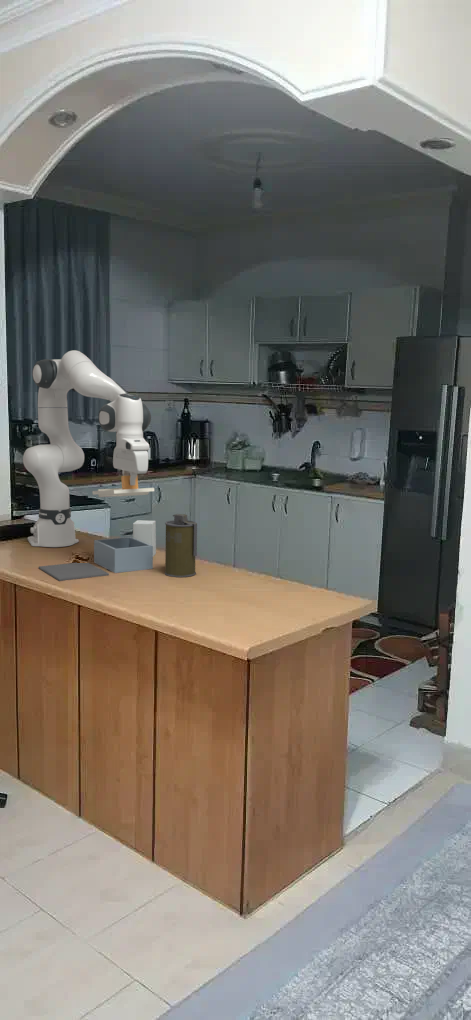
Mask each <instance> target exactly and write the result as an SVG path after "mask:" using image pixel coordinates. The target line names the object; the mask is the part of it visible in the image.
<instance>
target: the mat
mask: <svg viewBox="0 0 471 1020" xmlns="http://www.w3.org/2000/svg"><path fill="white" fill-rule="evenodd" d="M38 569H39V570H41V571H42V572H44V573H46V574H47V575H49V576H51V578H54V580H57V581H58V582H62V581H71V580H79V579H88V578H96V577H97V578H98V577H104V576H110V573H109V572H106V570H103V569H101V568H99V567H98V566H95V565H94V564H92V563H90V562H88V563H77V562H69V563H58V564H50V565H41V566H38Z"/></svg>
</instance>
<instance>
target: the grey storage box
mask: <svg viewBox="0 0 471 1020" xmlns="http://www.w3.org/2000/svg"><path fill="white" fill-rule="evenodd" d="M93 561H94V562H93V563H95V564H97V565H98V566H100V567H103V568H104V569H106V570H107V571H110V572H113V573H114V574H117V573H118V574H119V573H127V572H135V571H137V572H138V571H144V570H153V568H154V565H153V564H154V556H153V546H152V545H150V544H147V543H145V542H142V541H140V540H137V539H135V538H133V536H132V537H131V536H127V537H125V536H124V537H115V538H103V539H101V538H100V539H94V540H93Z"/></svg>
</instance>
